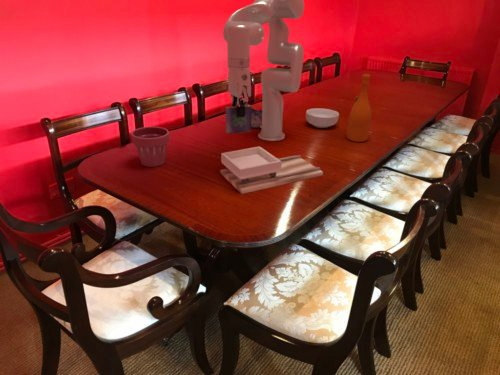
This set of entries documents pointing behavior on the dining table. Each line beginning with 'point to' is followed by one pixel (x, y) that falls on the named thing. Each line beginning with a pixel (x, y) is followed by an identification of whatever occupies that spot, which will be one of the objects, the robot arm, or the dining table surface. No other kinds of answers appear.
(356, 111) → the wine bottle
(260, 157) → the pink rimmed tray
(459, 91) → the dining table surface
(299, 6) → the robot arm
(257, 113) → the geode
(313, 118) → the cereal bowl
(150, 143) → the plant pot
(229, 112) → the flask
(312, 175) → the rail board
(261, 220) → the dining table surface
